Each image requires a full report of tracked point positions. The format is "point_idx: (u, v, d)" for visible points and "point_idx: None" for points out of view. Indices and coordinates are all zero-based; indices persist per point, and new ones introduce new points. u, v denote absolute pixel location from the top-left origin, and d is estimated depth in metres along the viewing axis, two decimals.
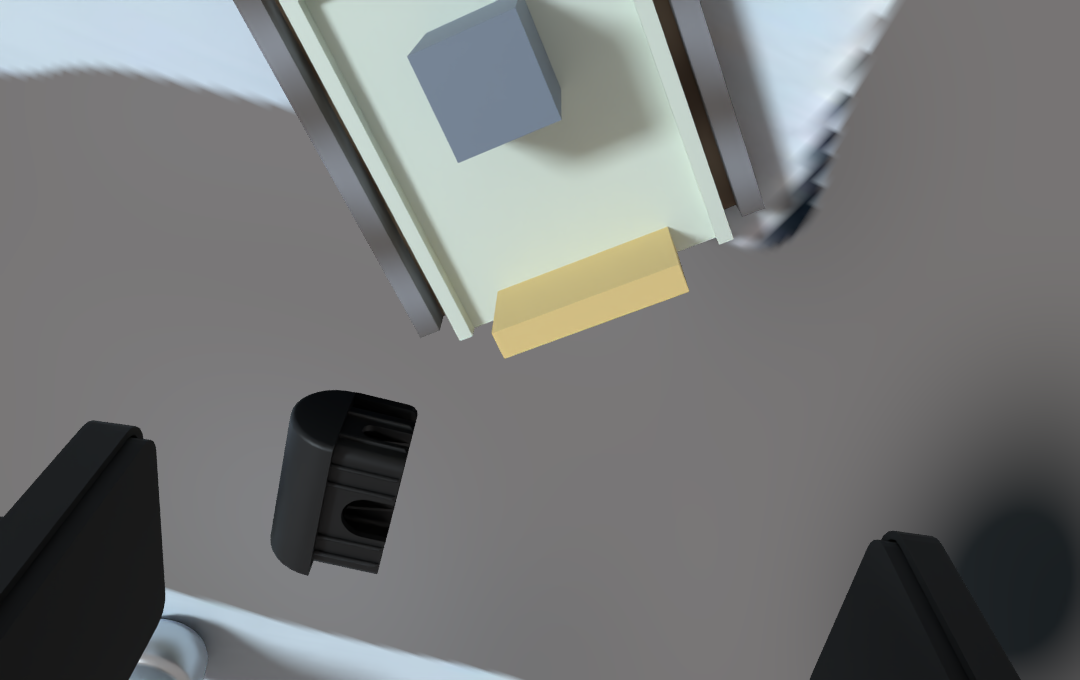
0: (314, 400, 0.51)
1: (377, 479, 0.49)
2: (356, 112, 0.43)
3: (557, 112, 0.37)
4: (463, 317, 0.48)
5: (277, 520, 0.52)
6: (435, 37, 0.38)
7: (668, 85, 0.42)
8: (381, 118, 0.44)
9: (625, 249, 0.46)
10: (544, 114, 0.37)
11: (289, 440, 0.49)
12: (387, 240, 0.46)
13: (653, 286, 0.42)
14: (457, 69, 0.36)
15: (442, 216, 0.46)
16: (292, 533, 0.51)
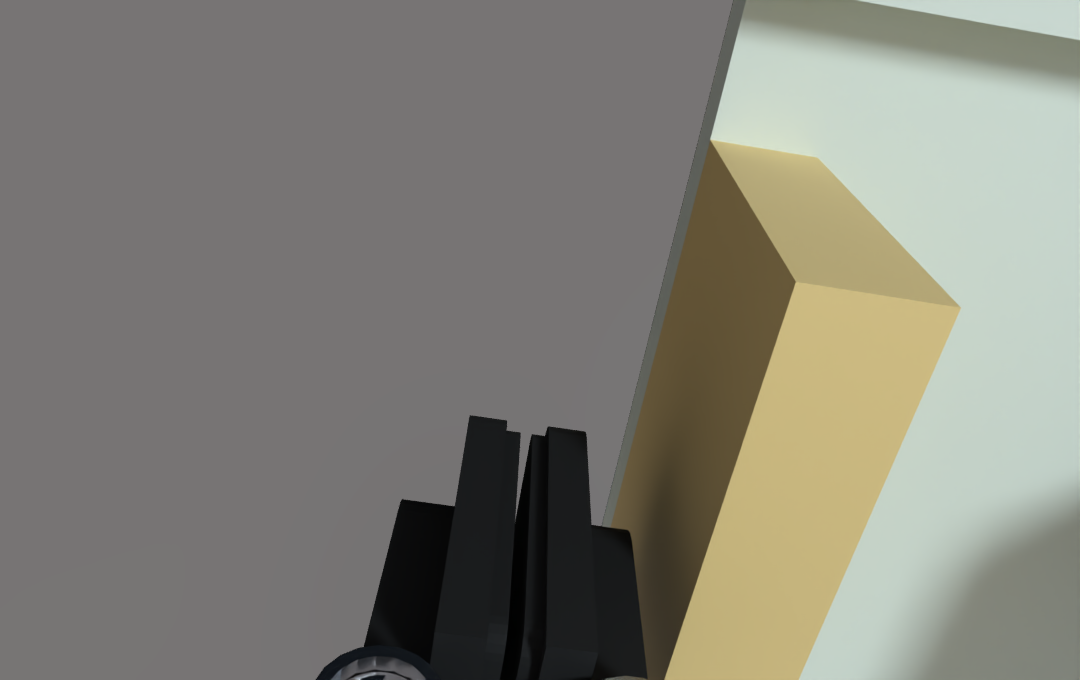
0: None
1: None
2: None
3: None
4: None
5: None
6: None
7: None
8: None
9: None
10: None
11: None
12: None
13: None
14: None
15: None
16: None
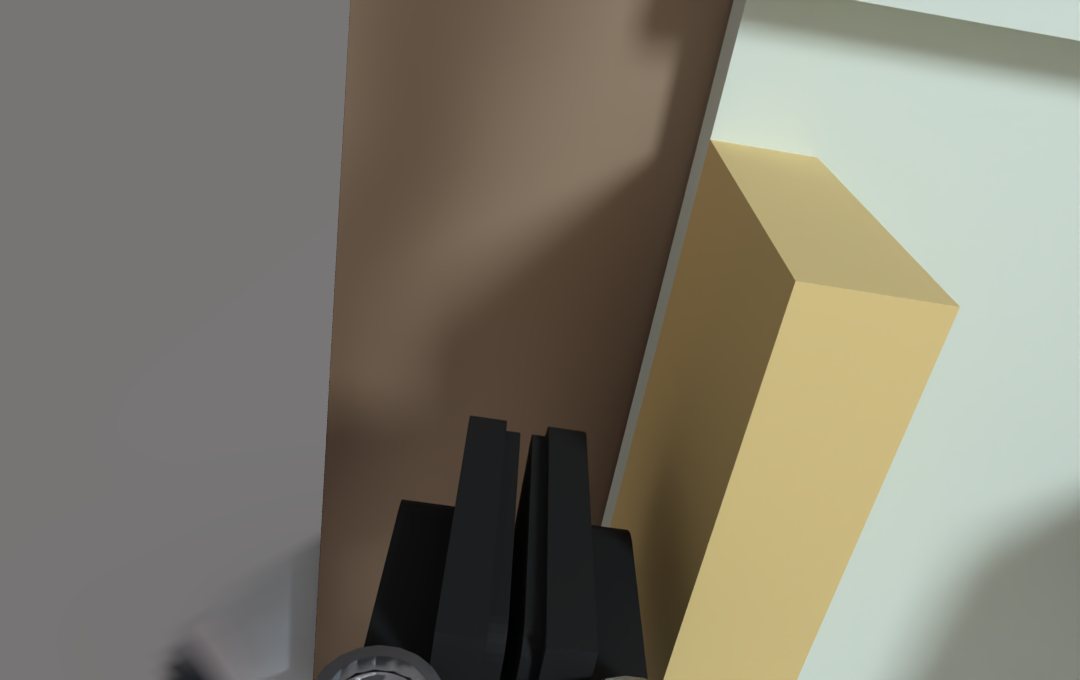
0: None
1: None
2: None
3: None
4: (861, 0, 0.11)
5: None
6: None
7: None
8: None
9: None
10: None
11: None
12: None
13: None
14: None
15: None
16: None
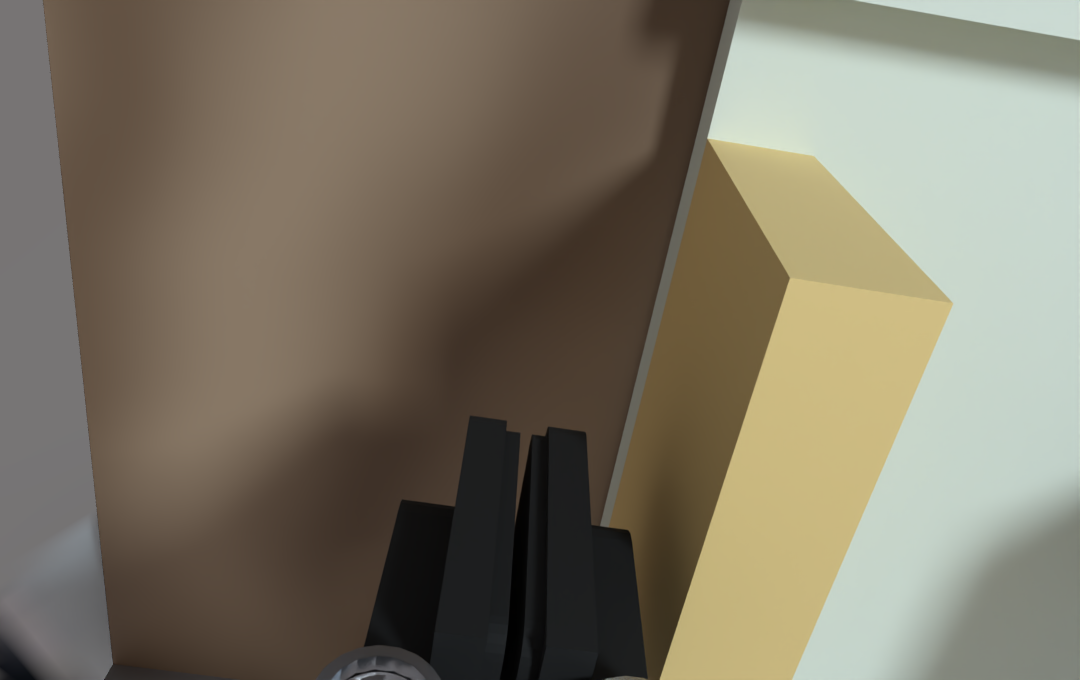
0: None
1: None
2: None
3: None
4: None
5: None
6: None
7: None
8: None
9: None
10: None
11: None
12: None
13: None
14: None
15: None
16: None
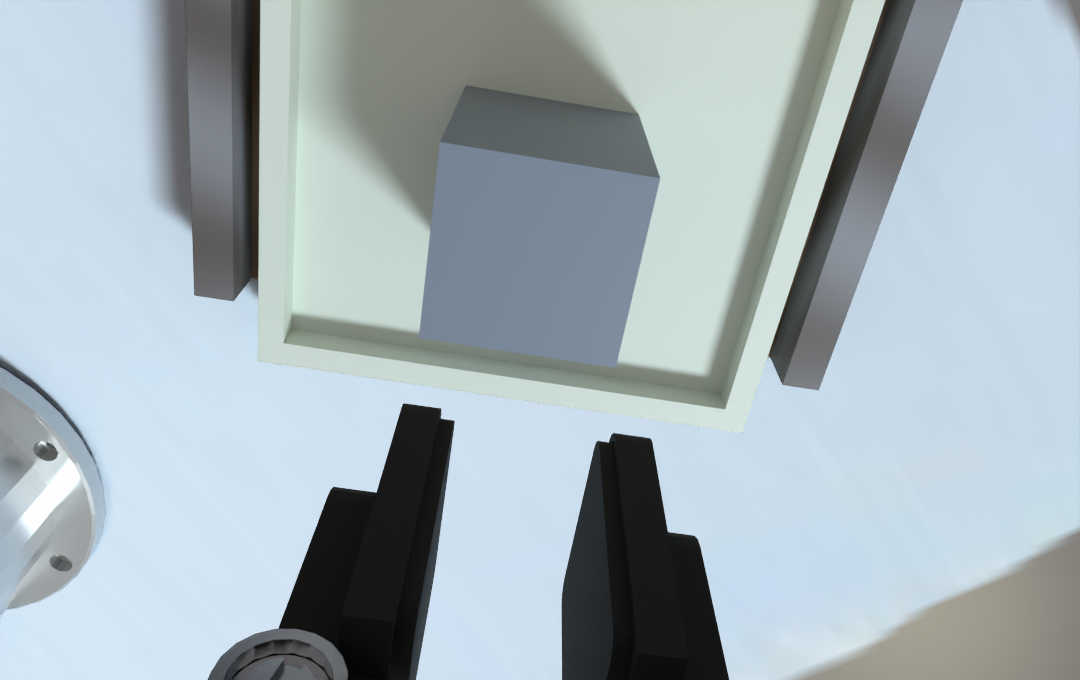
0: None
1: None
2: (774, 249, 0.26)
3: (440, 157, 0.19)
4: None
5: None
6: None
7: None
8: (751, 207, 0.26)
9: None
10: (465, 167, 0.19)
11: None
12: None
13: None
14: (556, 312, 0.21)
15: None
16: None
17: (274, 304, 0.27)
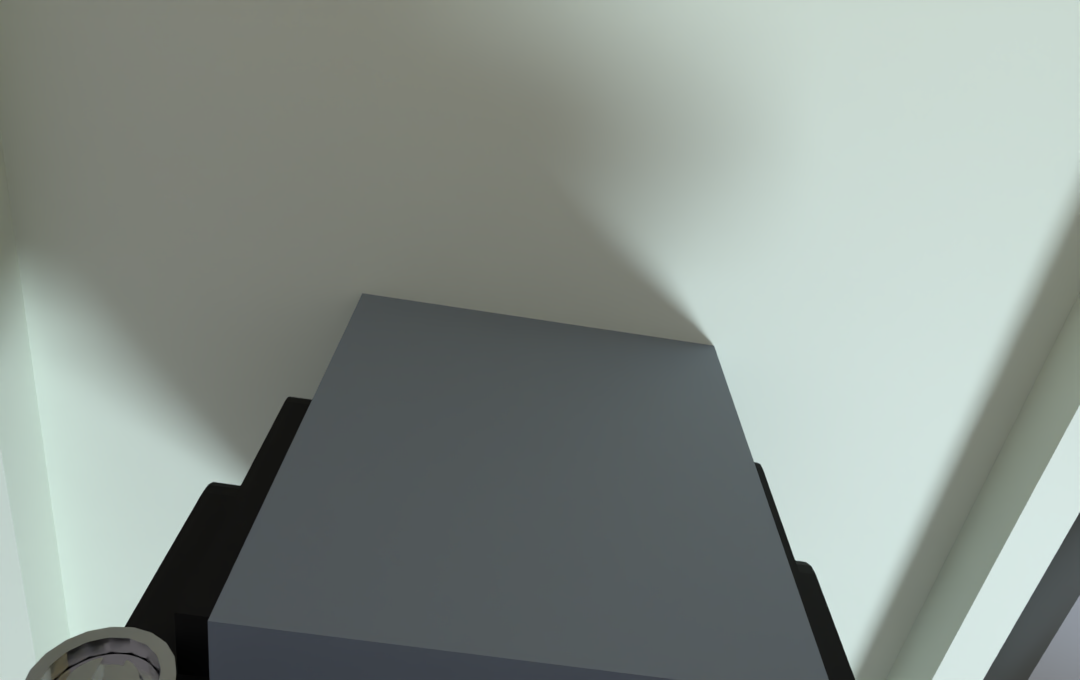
0: None
1: None
2: (973, 591, 0.13)
3: (215, 650, 0.07)
4: None
5: None
6: None
7: None
8: (925, 502, 0.13)
9: None
10: (286, 675, 0.07)
11: None
12: None
13: None
14: None
15: (1057, 127, 0.11)
16: None
17: (20, 673, 0.14)
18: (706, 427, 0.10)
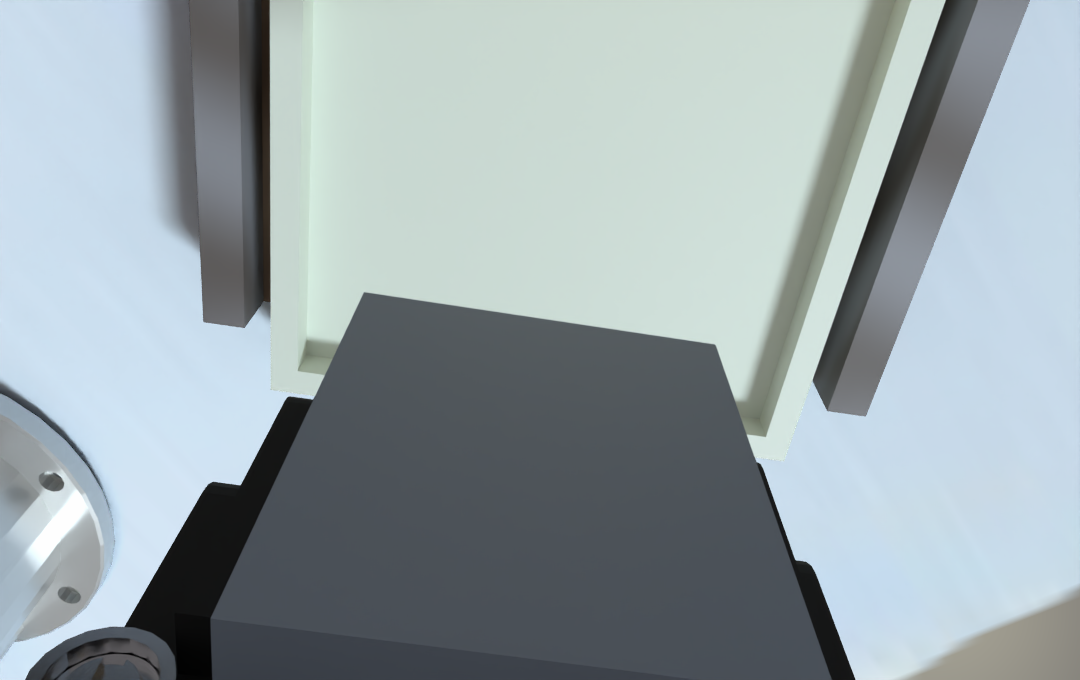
0: None
1: None
2: (820, 269, 0.24)
3: (218, 648, 0.07)
4: None
5: None
6: None
7: (292, 8, 0.21)
8: (795, 223, 0.24)
9: None
10: (289, 672, 0.07)
11: None
12: None
13: None
14: None
15: (842, 0, 0.21)
16: None
17: (287, 330, 0.25)
18: (708, 425, 0.10)
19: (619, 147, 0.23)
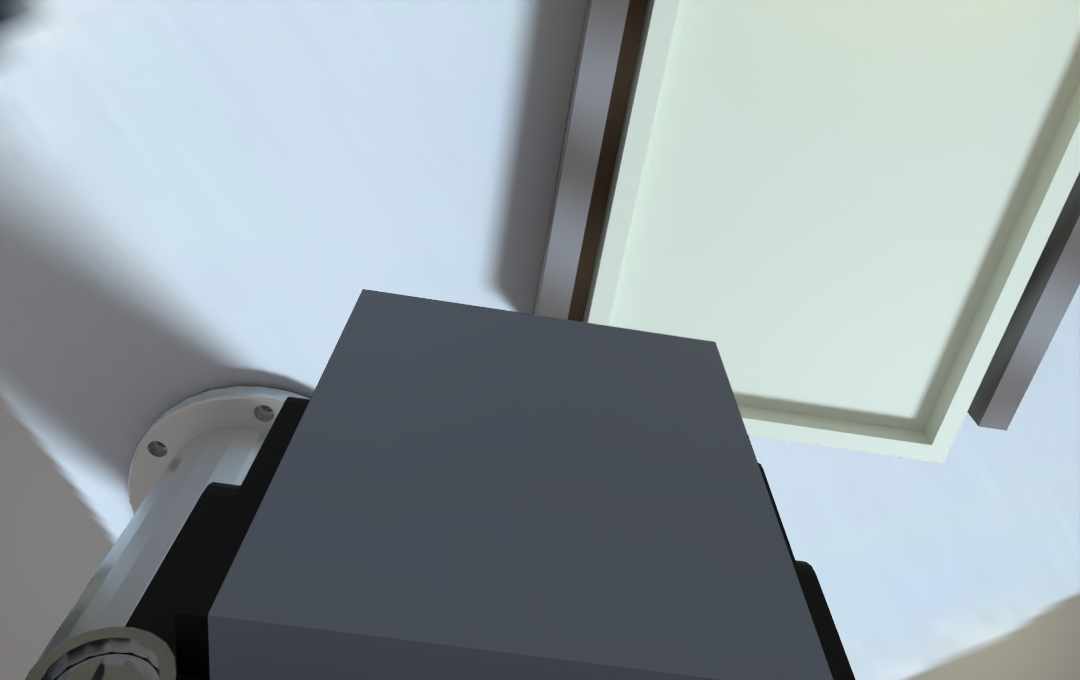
0: None
1: None
2: (984, 325, 0.33)
3: (216, 645, 0.07)
4: None
5: None
6: None
7: (640, 148, 0.30)
8: (965, 292, 0.34)
9: None
10: (288, 669, 0.07)
11: None
12: None
13: None
14: None
15: (1014, 143, 0.31)
16: None
17: None
18: (708, 423, 0.10)
19: (845, 238, 0.33)
